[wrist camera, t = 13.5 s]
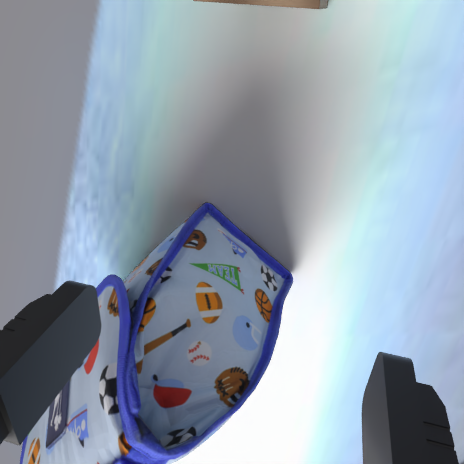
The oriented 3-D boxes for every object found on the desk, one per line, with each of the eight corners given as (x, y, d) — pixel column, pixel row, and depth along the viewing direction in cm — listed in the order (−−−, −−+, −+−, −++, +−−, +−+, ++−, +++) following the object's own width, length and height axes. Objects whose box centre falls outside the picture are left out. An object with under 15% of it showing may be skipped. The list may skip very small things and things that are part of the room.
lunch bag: (190, 177, 43) (17, 366, 21) (304, 270, 45) (259, 532, 23) (104, 290, 55) (-65, 486, 33) (197, 359, 57) (99, 587, 35)
